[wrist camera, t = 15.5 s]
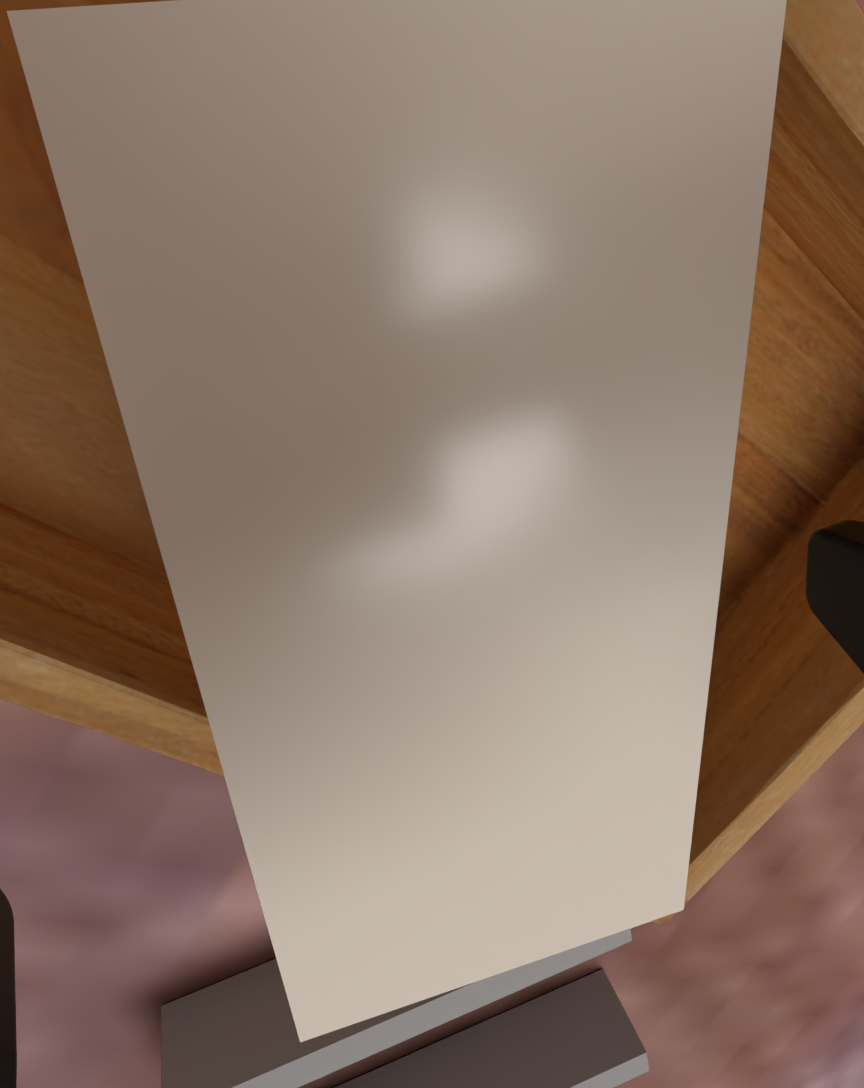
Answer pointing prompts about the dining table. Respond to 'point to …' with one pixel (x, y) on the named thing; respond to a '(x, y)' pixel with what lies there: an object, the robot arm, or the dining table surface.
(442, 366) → the block
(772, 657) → the tray
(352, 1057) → the holder
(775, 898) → the dining table surface
